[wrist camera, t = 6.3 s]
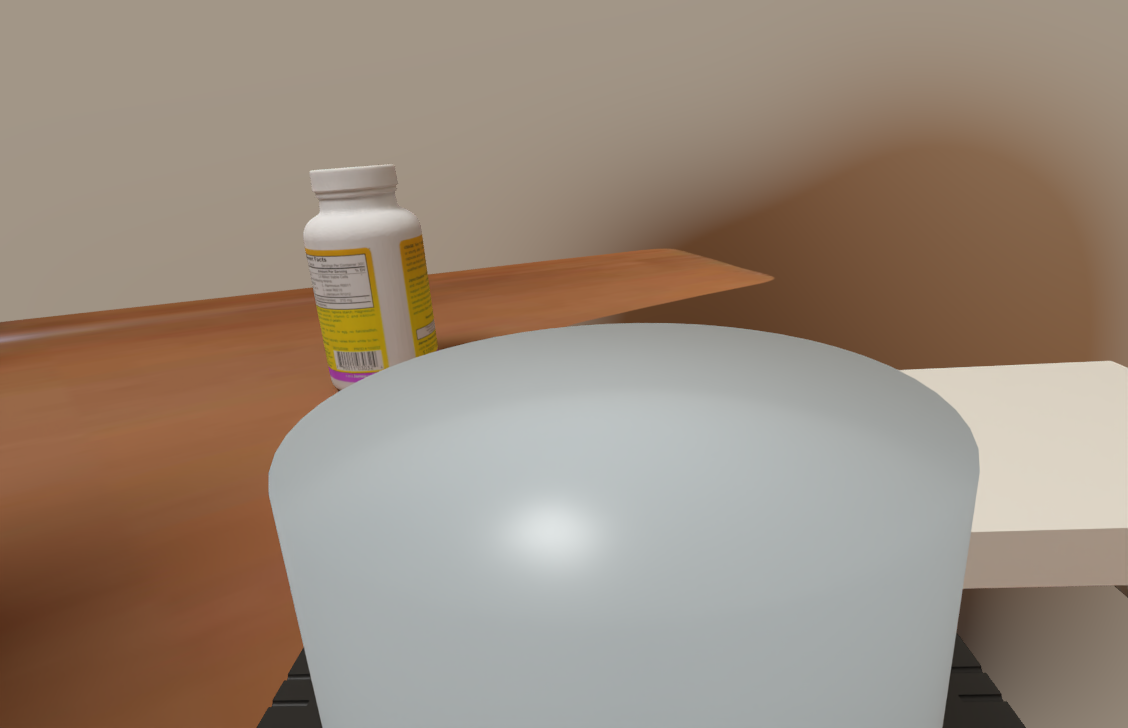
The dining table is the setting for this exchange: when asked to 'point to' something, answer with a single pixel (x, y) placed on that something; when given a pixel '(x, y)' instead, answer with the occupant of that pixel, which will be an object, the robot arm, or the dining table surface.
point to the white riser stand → (1045, 471)
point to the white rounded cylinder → (629, 535)
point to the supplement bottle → (367, 273)
